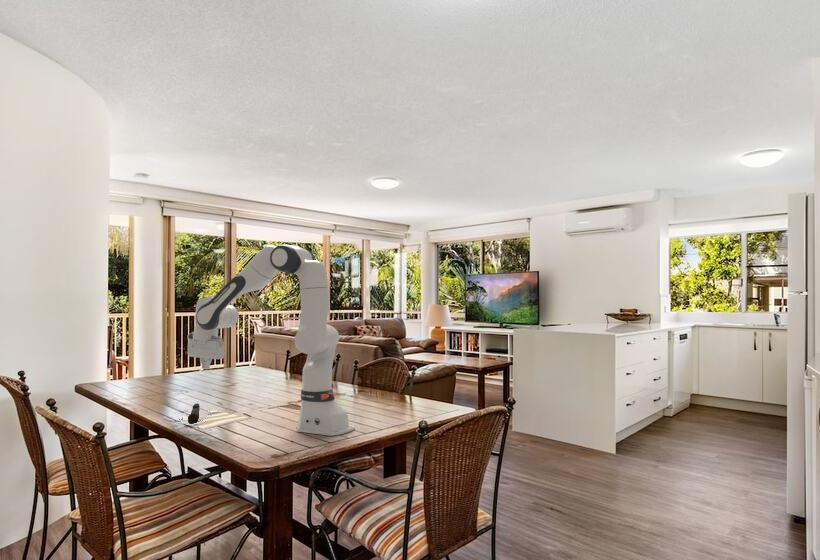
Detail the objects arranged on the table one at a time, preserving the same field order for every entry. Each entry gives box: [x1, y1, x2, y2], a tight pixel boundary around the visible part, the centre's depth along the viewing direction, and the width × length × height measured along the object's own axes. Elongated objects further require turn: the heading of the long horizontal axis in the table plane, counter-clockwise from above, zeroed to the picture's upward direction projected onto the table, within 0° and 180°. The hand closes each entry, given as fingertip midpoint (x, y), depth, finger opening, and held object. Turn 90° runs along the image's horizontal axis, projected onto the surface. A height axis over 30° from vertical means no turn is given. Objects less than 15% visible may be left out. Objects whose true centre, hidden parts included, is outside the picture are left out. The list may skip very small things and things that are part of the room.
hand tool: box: [188, 402, 201, 424], centre depth 199 cm, size 19×4×5 cm, turn 17°
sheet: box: [179, 409, 252, 430], centre depth 199 cm, size 28×22×1 cm
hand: (205, 368), depth 205 cm, fingers closed
